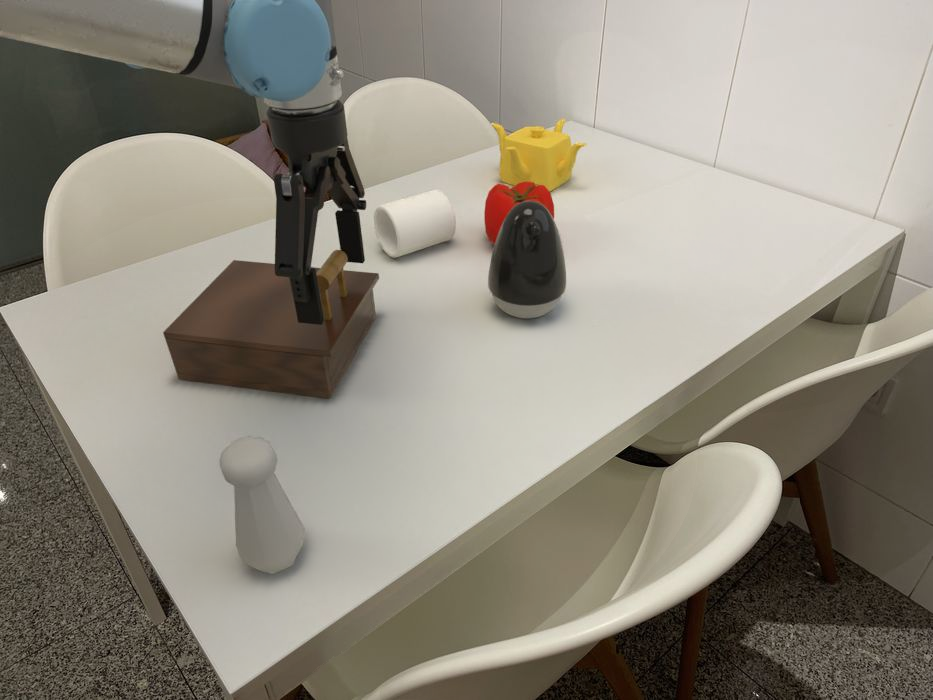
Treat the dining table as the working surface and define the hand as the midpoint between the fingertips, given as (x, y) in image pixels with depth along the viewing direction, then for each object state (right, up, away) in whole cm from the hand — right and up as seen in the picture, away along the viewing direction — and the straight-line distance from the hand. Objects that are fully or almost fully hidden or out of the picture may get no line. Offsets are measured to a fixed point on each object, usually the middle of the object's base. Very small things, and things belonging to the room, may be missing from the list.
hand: (333, 289), depth 81 cm
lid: (-7, -2, +3) cm, 8 cm away
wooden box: (-8, -7, +7) cm, 12 cm away
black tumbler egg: (+23, -2, +13) cm, 27 cm away
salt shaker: (-2, -25, -19) cm, 32 cm away
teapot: (+28, +24, +48) cm, 61 cm away
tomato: (+24, +10, +28) cm, 38 cm away
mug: (+6, +10, +29) cm, 31 cm away
